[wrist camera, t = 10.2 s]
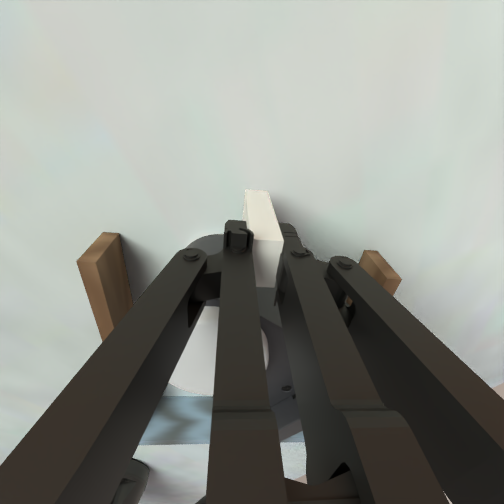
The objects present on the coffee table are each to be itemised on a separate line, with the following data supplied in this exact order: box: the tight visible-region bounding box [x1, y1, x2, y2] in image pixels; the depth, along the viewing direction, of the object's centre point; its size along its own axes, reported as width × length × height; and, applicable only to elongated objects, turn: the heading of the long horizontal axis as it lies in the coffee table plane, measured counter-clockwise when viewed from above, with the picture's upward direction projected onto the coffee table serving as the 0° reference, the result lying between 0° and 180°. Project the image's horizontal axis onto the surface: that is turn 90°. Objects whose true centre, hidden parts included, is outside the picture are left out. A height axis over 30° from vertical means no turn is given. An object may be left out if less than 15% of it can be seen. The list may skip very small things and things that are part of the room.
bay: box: [76, 232, 402, 445], centre depth 26 cm, size 23×26×5 cm
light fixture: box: [168, 234, 303, 442], centre depth 19 cm, size 11×13×11 cm
